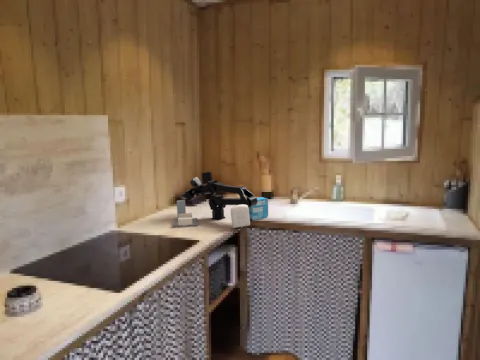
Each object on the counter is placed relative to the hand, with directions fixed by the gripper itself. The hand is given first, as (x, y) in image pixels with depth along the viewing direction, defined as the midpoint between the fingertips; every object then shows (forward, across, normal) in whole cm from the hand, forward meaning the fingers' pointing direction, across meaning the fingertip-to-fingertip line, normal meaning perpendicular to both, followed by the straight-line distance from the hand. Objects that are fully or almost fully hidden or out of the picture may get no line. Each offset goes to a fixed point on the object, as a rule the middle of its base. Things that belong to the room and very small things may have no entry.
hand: (185, 192), depth 245 cm
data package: (-43, -5, +25) cm, 50 cm away
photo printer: (-43, +15, +20) cm, 50 cm away
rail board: (-10, +21, +13) cm, 26 cm away
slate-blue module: (0, +11, +13) cm, 17 cm away
